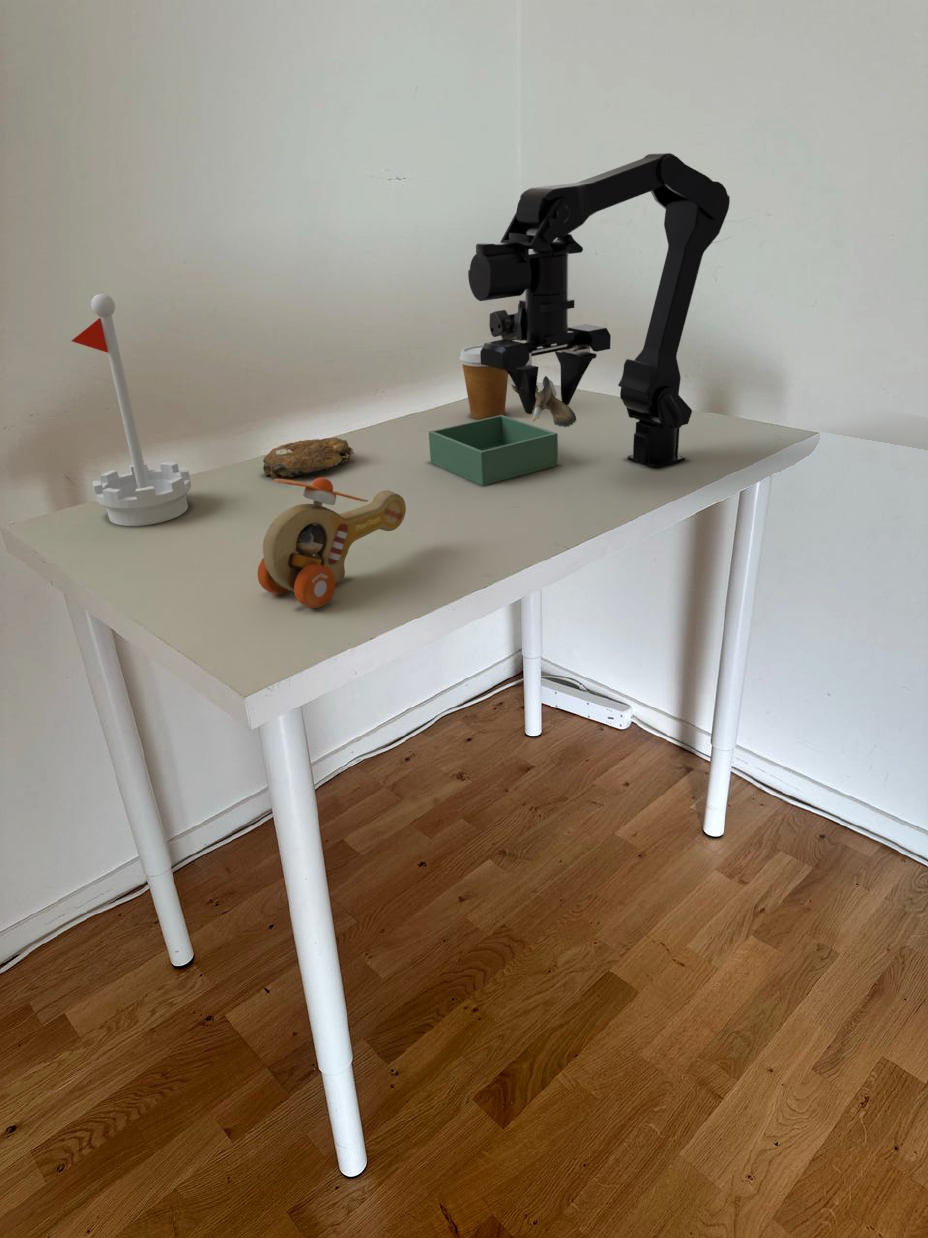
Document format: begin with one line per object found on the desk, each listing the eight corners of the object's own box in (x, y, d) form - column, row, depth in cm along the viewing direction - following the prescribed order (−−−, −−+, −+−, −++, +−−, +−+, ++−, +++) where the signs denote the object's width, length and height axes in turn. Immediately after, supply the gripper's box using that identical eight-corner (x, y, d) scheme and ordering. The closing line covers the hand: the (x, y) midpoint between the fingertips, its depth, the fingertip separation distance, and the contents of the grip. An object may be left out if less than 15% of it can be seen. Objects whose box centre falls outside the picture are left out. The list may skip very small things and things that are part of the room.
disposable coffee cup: (514, 420, 165) (512, 353, 159) (461, 423, 165) (458, 355, 160) (512, 407, 173) (510, 342, 168) (462, 409, 174) (459, 345, 168)
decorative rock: (329, 451, 155) (253, 476, 146) (324, 427, 153) (247, 452, 144) (369, 461, 147) (291, 488, 138) (365, 436, 145) (286, 462, 136)
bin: (502, 444, 152) (501, 414, 150) (557, 465, 141) (557, 433, 139) (430, 462, 146) (428, 431, 143) (482, 485, 134) (481, 452, 132)
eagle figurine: (500, 411, 129) (536, 412, 121) (518, 364, 129) (555, 361, 121) (540, 432, 133) (577, 434, 125) (558, 386, 133) (596, 386, 125)
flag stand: (167, 490, 140) (124, 283, 126) (212, 508, 131) (171, 290, 117) (86, 514, 132) (30, 297, 118) (127, 536, 123) (72, 304, 109)
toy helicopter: (252, 600, 104) (232, 485, 97) (380, 541, 117) (370, 437, 111) (299, 619, 99) (281, 499, 92) (427, 555, 112) (420, 447, 106)
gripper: (561, 279, 131) (561, 387, 138) (454, 295, 122) (460, 410, 129) (614, 285, 123) (612, 400, 130) (503, 303, 114) (507, 426, 121)
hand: (547, 408), depth 128 cm, fingers closed on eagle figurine, 6 cm apart
